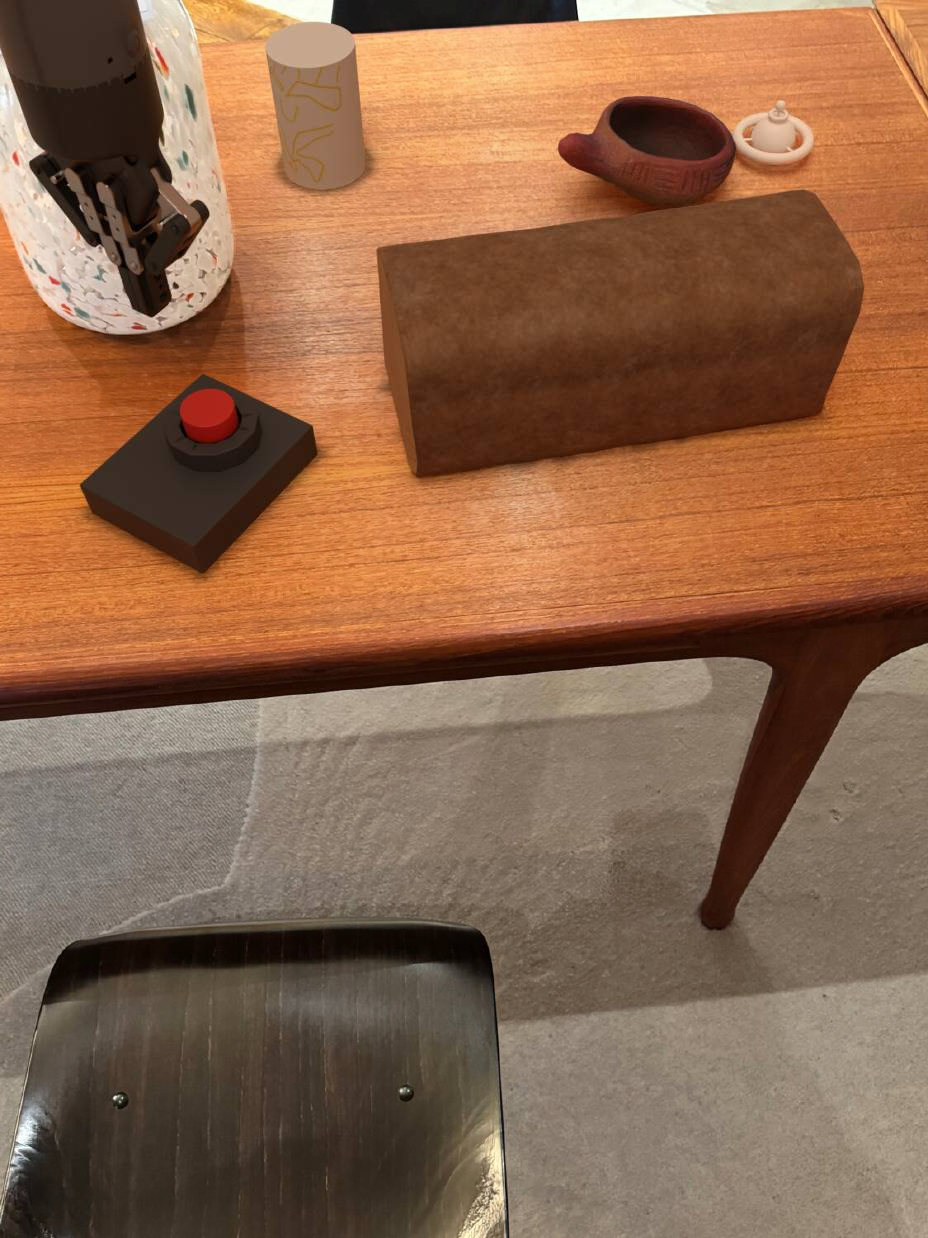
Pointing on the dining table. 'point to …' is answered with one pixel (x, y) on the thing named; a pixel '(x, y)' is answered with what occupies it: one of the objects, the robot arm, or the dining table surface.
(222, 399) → the power button
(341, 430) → the dining table surface
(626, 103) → the bowl
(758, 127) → the ring around a ball
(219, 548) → the red push button box
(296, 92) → the cup
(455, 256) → the bread
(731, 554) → the dining table surface
